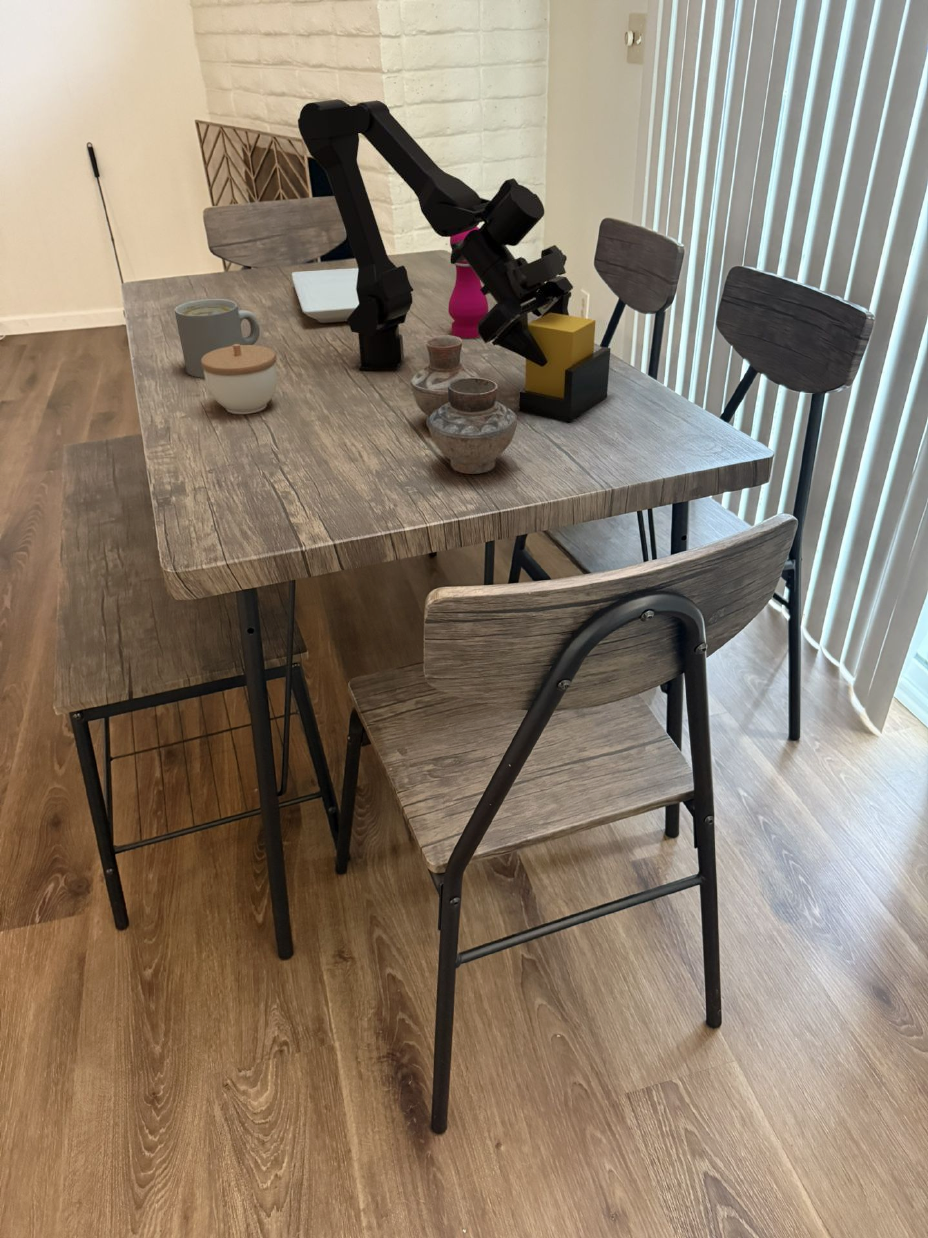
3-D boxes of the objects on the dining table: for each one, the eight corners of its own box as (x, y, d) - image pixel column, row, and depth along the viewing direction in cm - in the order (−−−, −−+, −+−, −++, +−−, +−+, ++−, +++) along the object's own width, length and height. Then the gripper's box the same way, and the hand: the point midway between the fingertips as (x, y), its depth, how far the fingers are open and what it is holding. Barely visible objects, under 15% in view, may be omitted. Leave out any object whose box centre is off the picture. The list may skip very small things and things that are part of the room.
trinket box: (220, 425, 129) (208, 361, 124) (202, 402, 137) (190, 340, 131) (291, 411, 133) (283, 348, 128) (270, 389, 141) (261, 329, 135)
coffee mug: (193, 381, 144) (181, 319, 139) (181, 363, 152) (168, 303, 146) (274, 368, 149) (265, 307, 143) (257, 351, 157) (249, 292, 151)
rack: (518, 411, 131) (519, 360, 127) (557, 386, 139) (559, 338, 135) (569, 422, 127) (572, 371, 123) (607, 397, 135) (610, 347, 131)
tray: (369, 281, 195) (368, 265, 193) (394, 322, 169) (392, 303, 167) (292, 288, 192) (289, 271, 190) (304, 330, 166) (302, 311, 164)
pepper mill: (442, 336, 161) (438, 217, 150) (458, 325, 167) (455, 209, 156) (479, 340, 159) (478, 220, 148) (494, 329, 165) (494, 211, 153)
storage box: (524, 405, 133) (525, 323, 126) (546, 391, 138) (549, 312, 131) (569, 415, 130) (573, 332, 123) (590, 400, 134) (595, 319, 128)
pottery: (473, 407, 133) (472, 326, 126) (528, 477, 113) (530, 385, 106) (399, 416, 130) (394, 334, 124) (441, 489, 111) (438, 396, 104)
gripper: (495, 241, 116) (566, 339, 117) (564, 216, 129) (627, 305, 130) (447, 296, 125) (514, 387, 126) (516, 267, 137) (577, 350, 138)
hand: (560, 355), depth 130 cm, fingers open, 9 cm apart
